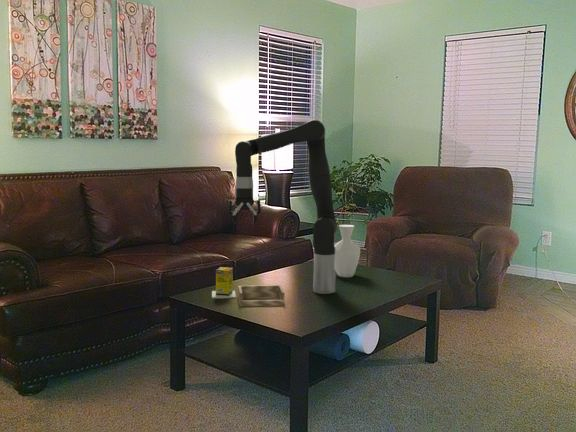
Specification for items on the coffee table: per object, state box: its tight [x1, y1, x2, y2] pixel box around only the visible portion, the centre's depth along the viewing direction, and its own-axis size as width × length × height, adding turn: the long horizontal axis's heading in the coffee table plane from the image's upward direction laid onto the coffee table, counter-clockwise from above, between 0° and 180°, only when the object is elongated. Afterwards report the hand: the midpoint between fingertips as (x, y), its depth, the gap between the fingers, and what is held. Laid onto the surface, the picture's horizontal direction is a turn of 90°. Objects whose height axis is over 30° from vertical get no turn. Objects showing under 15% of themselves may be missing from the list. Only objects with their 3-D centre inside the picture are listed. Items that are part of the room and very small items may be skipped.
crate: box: [237, 284, 286, 307], centre depth 234 cm, size 18×13×5 cm
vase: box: [334, 224, 361, 278], centre depth 282 cm, size 14×14×25 cm
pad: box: [211, 290, 237, 300], centre depth 243 cm, size 10×10×1 cm
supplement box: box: [215, 266, 234, 296], centre depth 242 cm, size 6×6×11 cm
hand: (244, 223), depth 252 cm, fingers open, 8 cm apart
